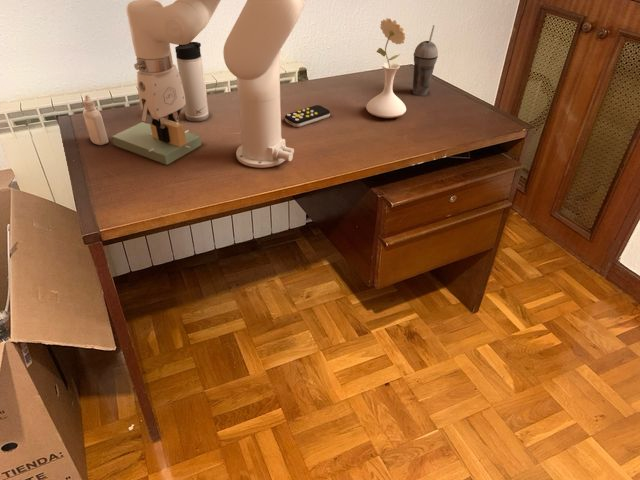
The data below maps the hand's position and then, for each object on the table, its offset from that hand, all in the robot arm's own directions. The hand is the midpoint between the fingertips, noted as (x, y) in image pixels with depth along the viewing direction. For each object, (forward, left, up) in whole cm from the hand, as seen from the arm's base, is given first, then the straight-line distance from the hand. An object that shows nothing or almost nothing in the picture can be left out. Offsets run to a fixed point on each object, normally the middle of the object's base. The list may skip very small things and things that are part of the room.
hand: (169, 138), depth 119 cm
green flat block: (+3, 0, -3) cm, 5 cm away
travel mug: (+7, -18, -3) cm, 20 cm away
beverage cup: (-38, -70, -3) cm, 79 cm away
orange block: (0, 0, -1) cm, 1 cm away
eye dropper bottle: (+18, +6, -3) cm, 20 cm away
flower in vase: (-35, -50, -3) cm, 61 cm away
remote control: (-19, -34, -3) cm, 39 cm away
